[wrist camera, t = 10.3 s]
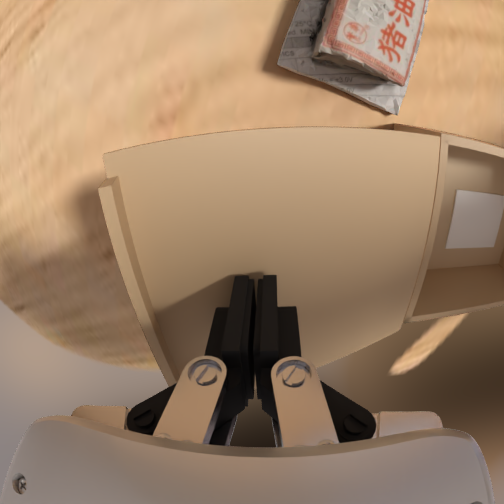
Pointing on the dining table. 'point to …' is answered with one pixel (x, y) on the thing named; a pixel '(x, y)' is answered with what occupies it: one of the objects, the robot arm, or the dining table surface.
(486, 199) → the mailer box
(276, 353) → the robot arm
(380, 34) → the packaged product
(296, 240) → the lid
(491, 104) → the dining table surface
